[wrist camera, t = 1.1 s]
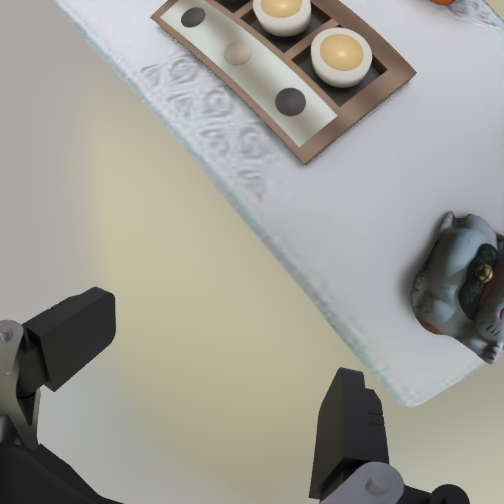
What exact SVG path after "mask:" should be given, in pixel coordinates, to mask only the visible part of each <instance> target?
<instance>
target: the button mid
mask: <svg viewBox="0 0 504 504" xmlns="http://www.w3.org/2000/svg"><path fill="white" fill-rule="evenodd" d="M253 10H254V12H255V14H256V16H257V18H258V20H259V22H260V24H261V26H262V27H263V29H264V30H266V31H267V32H268V33H270V34H273V35H276V36H281V37H289V36H294V35H297V34H299V33H301V32H303V31H304V30H306V29H307V28H308V26H309V25H310V23H311V20H312V14H311V5H310V0H254V1H253Z"/></svg>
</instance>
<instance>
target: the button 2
mask: <svg viewBox="0 0 504 504" xmlns="http://www.w3.org/2000/svg"><path fill="white" fill-rule="evenodd" d="M311 56H312V65H313V68H314V71H315V73H316V74H317V76H318V77H319V78H320V79H321V80H322V81H324V82H325V83H327V84H329V85H331V86H334V87H339V88H348V87H352V86H355V85H357V84H358V83H360V82H361V81H362V80H363V79H364V77H365V76H366V74H367V71H368V69H369V67H370V65H371V62H372V52H371V49H370V46H369V45H368V43H367V42H366V40H365V39H364V38H363V37H362V36H360V35H359V34H358V33H356V32H354V31H352V30H349V29H346V28H330V29H326V30H324V31H322V32H320V33H319V34H318V35H317V36H316V37H315V38H314V40H313V42H312V45H311Z"/></svg>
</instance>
